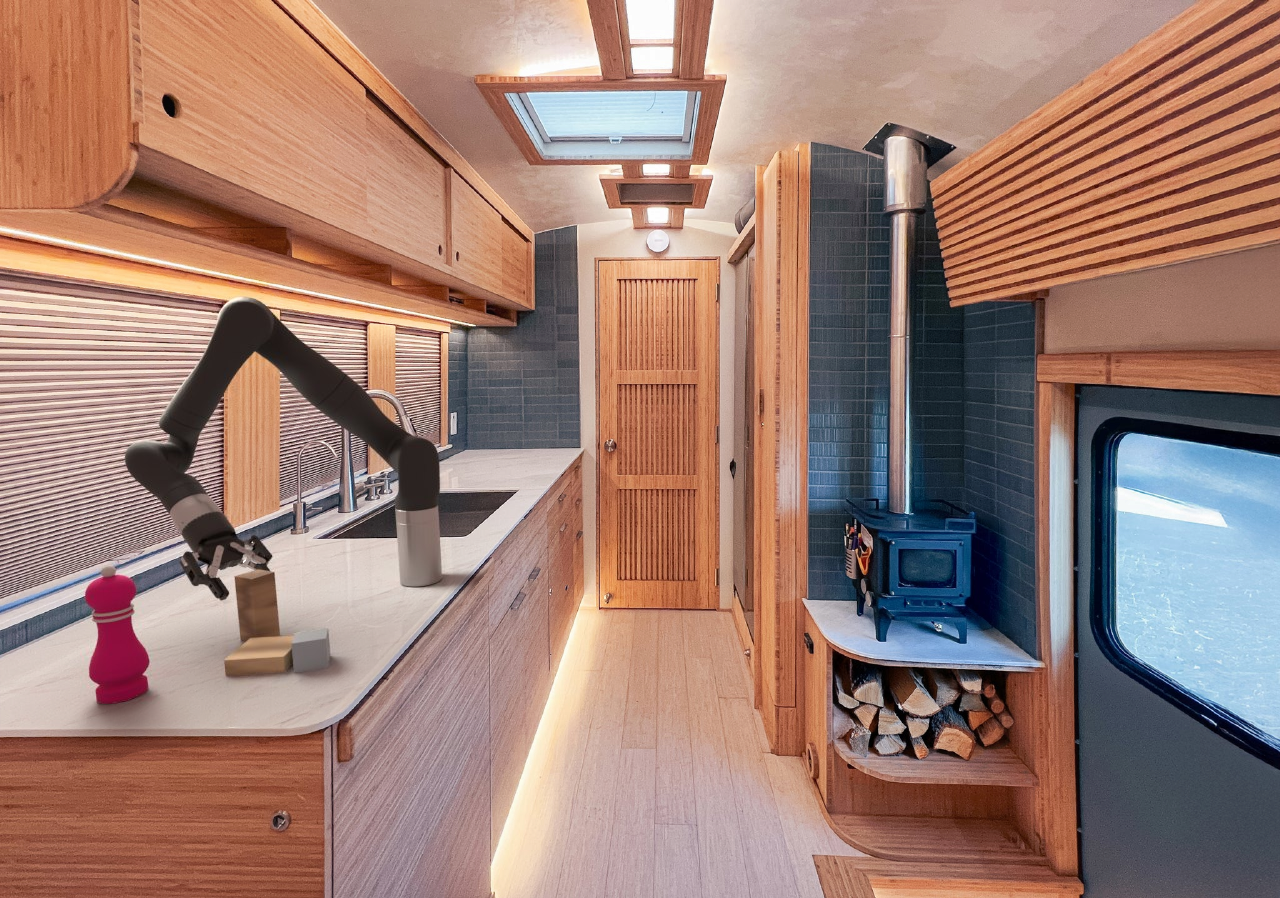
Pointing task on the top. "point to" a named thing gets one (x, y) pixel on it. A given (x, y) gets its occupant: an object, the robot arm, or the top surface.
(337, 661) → the top surface
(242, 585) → the walnut pillar
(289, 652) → the oak base
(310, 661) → the slate block
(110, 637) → the pepper mill
